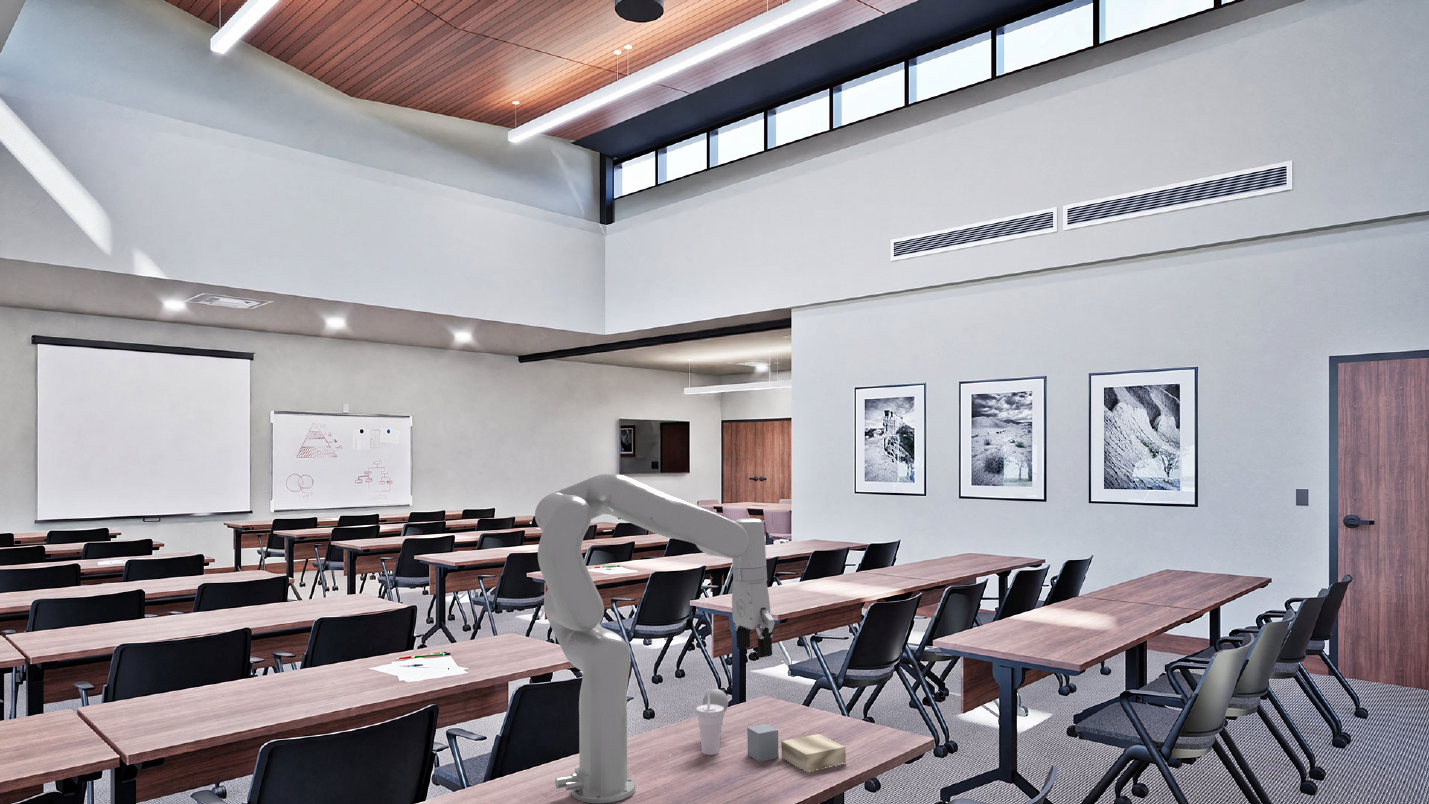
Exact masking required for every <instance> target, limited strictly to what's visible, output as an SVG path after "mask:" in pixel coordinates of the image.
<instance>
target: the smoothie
mask: <svg viewBox="0 0 1429 804" xmlns="http://www.w3.org/2000/svg"><path fill="white" fill-rule="evenodd" d="M710 690H711V688H707V692H706V693H707V694H708V704H707V705H703V704H701V705H698V706H697V707H696V708H695V713H696V715H697V720H698V727H699V737H700V743H701V752H702V754H704V755H707V756H712V755H717V754H719V751H720V744H721V735H722V726H723V721H722V716H723V714H724V715H725V713H724V707H722V706H720V705H715V704H710ZM723 717H724V716H723Z"/></svg>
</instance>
